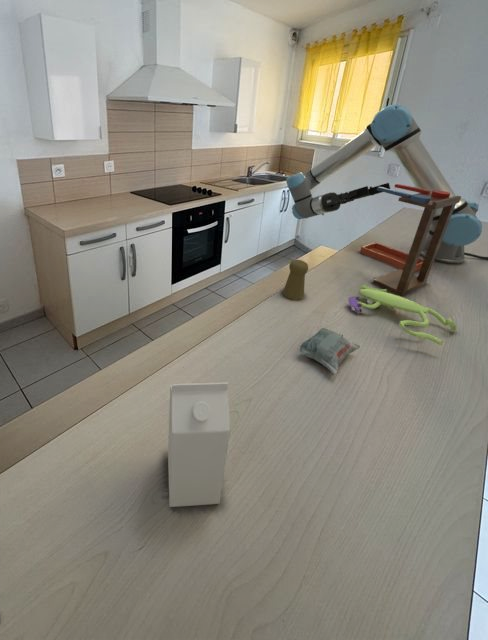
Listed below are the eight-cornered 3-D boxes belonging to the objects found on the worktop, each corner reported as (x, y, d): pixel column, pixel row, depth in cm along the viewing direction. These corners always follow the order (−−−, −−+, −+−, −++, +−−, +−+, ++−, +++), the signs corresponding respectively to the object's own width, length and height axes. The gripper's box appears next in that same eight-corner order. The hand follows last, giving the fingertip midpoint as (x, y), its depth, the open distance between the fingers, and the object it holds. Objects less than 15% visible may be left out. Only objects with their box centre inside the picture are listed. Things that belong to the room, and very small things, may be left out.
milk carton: (167, 456, 51) (170, 363, 43) (212, 453, 52) (222, 362, 44) (169, 508, 44) (173, 409, 37) (219, 504, 45) (233, 407, 38)
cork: (301, 290, 99) (308, 258, 95) (305, 301, 94) (313, 267, 90) (281, 288, 100) (287, 256, 96) (284, 299, 94) (291, 265, 90)
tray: (359, 252, 128) (361, 246, 127) (373, 247, 133) (375, 242, 132) (411, 273, 113) (413, 267, 112) (424, 267, 118) (427, 260, 117)
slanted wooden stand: (372, 283, 105) (400, 194, 94) (397, 272, 113) (425, 188, 102) (402, 297, 98) (437, 202, 86) (427, 284, 106) (461, 196, 94)
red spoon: (392, 187, 106) (393, 183, 106) (398, 186, 108) (400, 182, 108) (445, 199, 94) (446, 194, 94) (451, 197, 97) (453, 193, 96)
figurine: (425, 361, 73) (433, 342, 71) (330, 300, 95) (334, 283, 93) (467, 339, 81) (476, 321, 79) (371, 287, 103) (376, 272, 100)
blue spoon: (373, 190, 101) (374, 186, 100) (382, 189, 103) (384, 185, 102) (423, 203, 88) (424, 198, 88) (432, 202, 90) (434, 197, 90)
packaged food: (357, 355, 74) (362, 338, 72) (333, 381, 66) (338, 363, 64) (321, 336, 80) (325, 319, 78) (295, 358, 72) (299, 340, 70)
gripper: (347, 208, 136) (399, 194, 118) (308, 216, 124) (361, 202, 105) (342, 191, 137) (394, 175, 118) (304, 197, 124) (355, 180, 106)
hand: (379, 188), depth 112 cm, fingers open, 13 cm apart
